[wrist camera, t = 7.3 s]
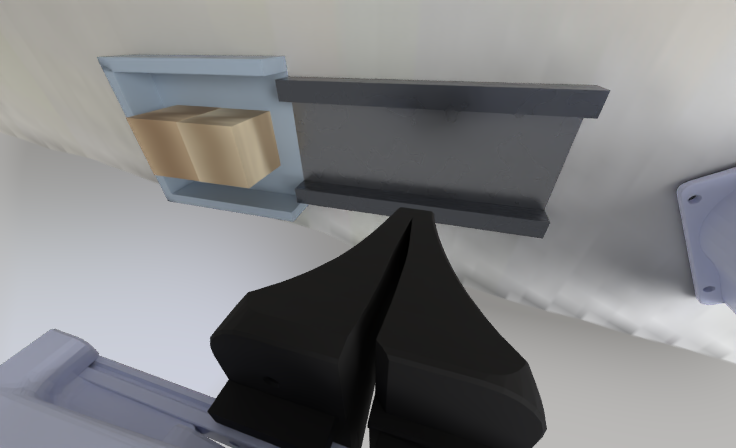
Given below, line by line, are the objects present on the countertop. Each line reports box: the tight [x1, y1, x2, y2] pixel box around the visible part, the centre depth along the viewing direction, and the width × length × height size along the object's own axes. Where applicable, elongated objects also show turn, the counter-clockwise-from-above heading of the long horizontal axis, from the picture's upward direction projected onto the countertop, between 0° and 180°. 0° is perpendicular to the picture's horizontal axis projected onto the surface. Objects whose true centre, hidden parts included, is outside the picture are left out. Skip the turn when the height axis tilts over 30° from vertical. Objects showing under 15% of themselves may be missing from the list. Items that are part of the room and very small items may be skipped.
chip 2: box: [176, 108, 281, 188], centre depth 19 cm, size 4×4×4 cm
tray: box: [97, 55, 308, 221], centre depth 20 cm, size 12×11×3 cm
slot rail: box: [275, 76, 610, 238], centre depth 17 cm, size 17×8×2 cm, turn 91°
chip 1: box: [126, 105, 220, 181], centre depth 20 cm, size 4×4×4 cm
